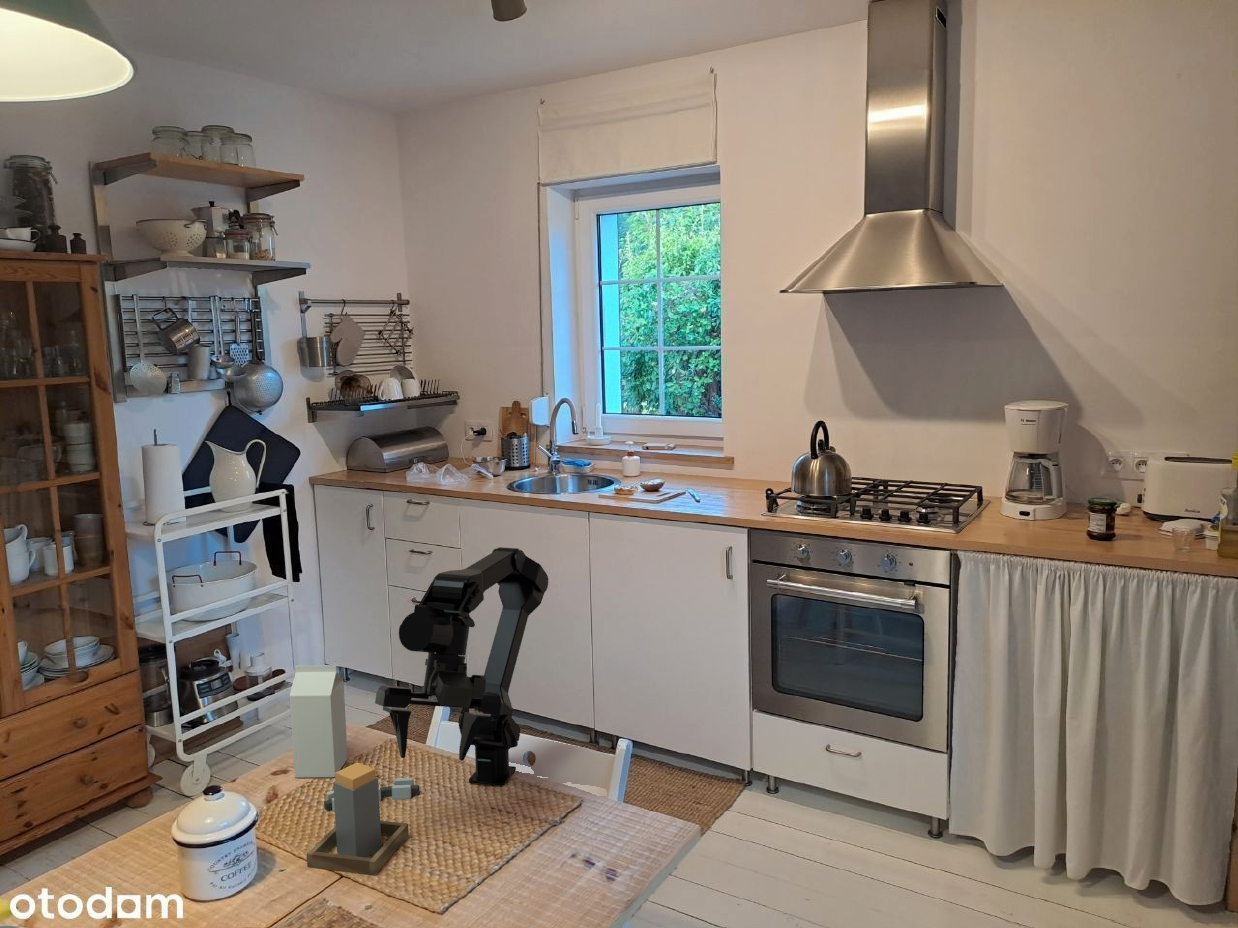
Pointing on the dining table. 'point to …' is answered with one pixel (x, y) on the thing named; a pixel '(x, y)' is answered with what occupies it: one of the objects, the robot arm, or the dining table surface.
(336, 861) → the brown flat square frame
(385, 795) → the grey jointed bar
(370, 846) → the grey box with lid
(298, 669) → the milk carton
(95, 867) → the dining table surface
